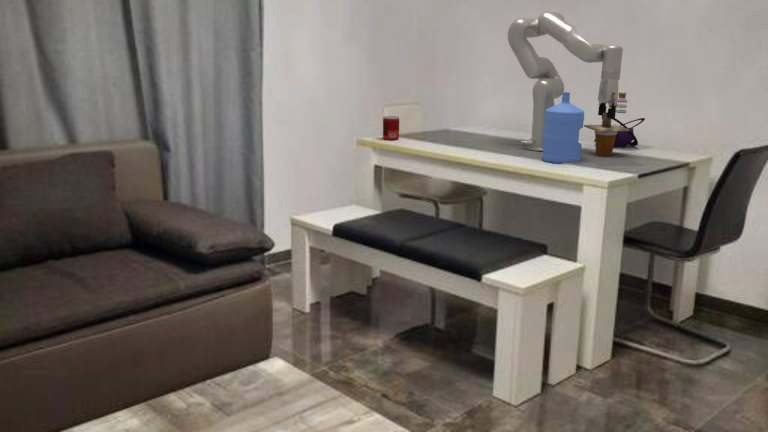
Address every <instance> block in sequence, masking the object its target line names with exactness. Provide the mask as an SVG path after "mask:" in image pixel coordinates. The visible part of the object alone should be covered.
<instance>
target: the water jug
mask: <svg viewBox="0 0 768 432" xmlns="http://www.w3.org/2000/svg"><path fill="white" fill-rule="evenodd" d="M570 94H571V92H566V91H564V92H562V95H561V102H559V103H558V104H555V106H553V107H551V108H548V109H546V112H545V127H544V136H543V140H544V141H543V151H542V154H541V158H542V161H544V162H547V163H551V164H561V165H564V163H573V162H580V161H581V159H582V144H581V143H580V142H579V141H580V140H579V139H580V131H581V129H583V128H584V121H585V111H584V110H583V109H581V108H579V107H578V106H577V105H574V104H572V103H571V102H570Z"/></svg>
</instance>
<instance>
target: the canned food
mask: <svg viewBox="0 0 768 432" xmlns="http://www.w3.org/2000/svg"><path fill="white" fill-rule="evenodd" d="M382 139H383V141H393V142H394V141H398V140H399V139H400V117H399V115H398V116H397V115H384V116H383V117H382Z"/></svg>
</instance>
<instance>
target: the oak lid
mask: <svg viewBox="0 0 768 432" xmlns="http://www.w3.org/2000/svg"><path fill="white" fill-rule="evenodd" d="M607 114H608V111H606V112H603V119H602V118H601V122H602V123H601V124H583V128H587V129H589V130H592V131H629V129H627V128H624V127H623V126H620V125H617V124H612V119H611V118H607Z"/></svg>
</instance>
